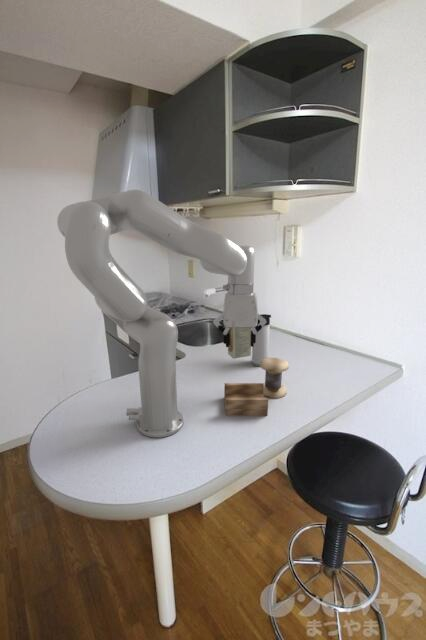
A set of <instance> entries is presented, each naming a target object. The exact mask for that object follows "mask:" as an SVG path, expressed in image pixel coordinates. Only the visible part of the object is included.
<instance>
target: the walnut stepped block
mask: <svg viewBox="0 0 426 640" xmlns="http://www.w3.org/2000/svg"><path fill="white" fill-rule="evenodd" d="M263 383H264V382H263ZM263 383H255V382H253V383H252V382H251V383H250V382H249V383H245V382H243V383H242V382H241V383H240V382H239V383H238V382H237V383H235V382H234V383H233V382H231V383H229V382H227V383H224V413H225V416H229V417H230V416H232V417H233V416H234V417H235V416H236V417H237V416H238V417H239V416H241V417H242V416H246V417H247V416H255V417H256V416H268V411H269V410H268V409H269V398H268V397H265V396H264V395H263V387H264V385H263Z"/></svg>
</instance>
